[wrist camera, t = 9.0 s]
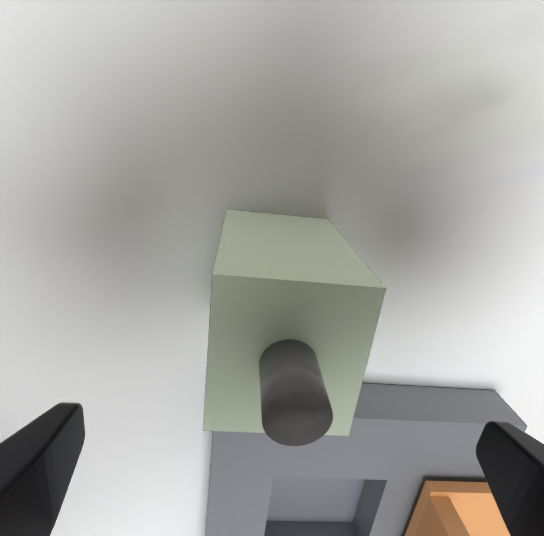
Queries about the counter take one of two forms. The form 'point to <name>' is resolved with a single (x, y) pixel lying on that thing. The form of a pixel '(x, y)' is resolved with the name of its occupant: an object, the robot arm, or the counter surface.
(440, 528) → the shutter
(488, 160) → the counter surface
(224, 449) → the socket
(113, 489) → the counter surface
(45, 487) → the robot arm
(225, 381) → the plug
